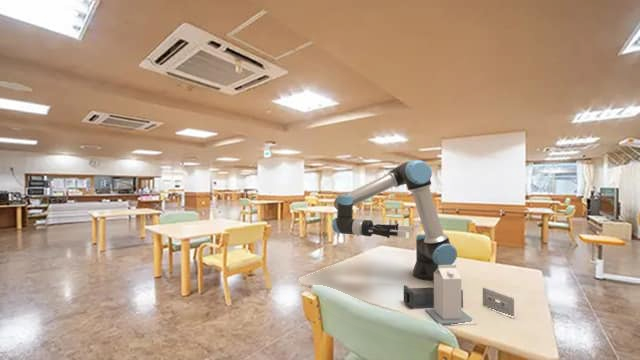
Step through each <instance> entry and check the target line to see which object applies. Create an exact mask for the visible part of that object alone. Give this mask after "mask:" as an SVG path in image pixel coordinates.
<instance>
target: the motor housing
mask: <svg viewBox="0 0 640 360" xmlns="http://www.w3.org/2000/svg"><path fill="white" fill-rule="evenodd" d="M463 297H464V290H463V289H461V308H464V298H463ZM403 303H404V304H405V305H406V306H407V308H409V309H410V310H415V309H416V310H417V309H434V286H433V287H409V286H408V285H406V284H405V285H403Z"/></svg>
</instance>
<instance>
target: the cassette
mask: <svg viewBox="0 0 640 360" xmlns="http://www.w3.org/2000/svg"><path fill="white" fill-rule="evenodd" d="M498 301H499V302H498ZM483 305H484V306H483ZM482 306H483V307H485V306H487V307H488V308H491V309H494V310H496V311H499V312H502V313H505V314H508V315H511V316H514V317H515V298H514V297H512V296H509V295H506V294H504V293H500V292H498V291H496V290H492V289H490V288H488V287H485V286H484V287H482ZM487 307H486V308H487ZM488 308H487V309H488ZM491 309H490V310H491Z"/></svg>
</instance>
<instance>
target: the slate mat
mask: <svg viewBox="0 0 640 360" xmlns="http://www.w3.org/2000/svg"><path fill="white" fill-rule="evenodd" d="M424 311H425V313H426V314H427V315H429V317H430V318H431V319H432V320H434V322H435V323H437V322H438V323H440V324H442V325H444V326H452V325H451V324H458V323H465V322H471V321H472V319H473V317H471V316H469V315H468V314H467V313H465V312H464V311H463V310H462V309H461V319H443V318H442V317H441V316H440V315H439V314H437V313H436V312H435V311H434V308H424ZM438 323H437V324H438Z"/></svg>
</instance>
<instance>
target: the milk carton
mask: <svg viewBox="0 0 640 360" xmlns="http://www.w3.org/2000/svg"><path fill="white" fill-rule="evenodd" d="M433 287H434V308H433V309H434V311H435V312H436V313H437V314H439V315H440V316H441V317H442V318H443V319H461V310H462V307H461V290H462V276H461V275H460V273H459V271H458V268H457V265H456V264H452V265H438V269H437V270H436V271H435V272H434V281H433Z"/></svg>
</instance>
